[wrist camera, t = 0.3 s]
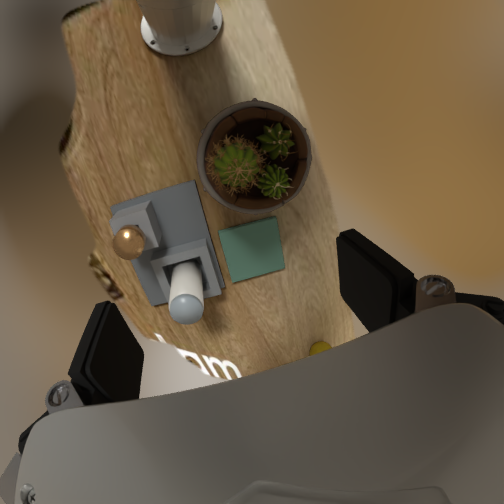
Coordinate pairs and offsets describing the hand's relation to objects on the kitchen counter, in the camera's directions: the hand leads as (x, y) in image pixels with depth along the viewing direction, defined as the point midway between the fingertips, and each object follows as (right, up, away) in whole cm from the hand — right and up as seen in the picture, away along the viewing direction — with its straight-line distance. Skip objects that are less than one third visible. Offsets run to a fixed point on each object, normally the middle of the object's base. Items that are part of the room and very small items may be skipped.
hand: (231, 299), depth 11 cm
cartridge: (-10, -1, +37) cm, 38 cm away
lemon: (+16, -20, +53) cm, 59 cm away
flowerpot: (-1, +18, +31) cm, 36 cm away
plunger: (-17, +6, +29) cm, 34 cm away
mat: (+1, +2, +39) cm, 39 cm away
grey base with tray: (-13, +3, +36) cm, 38 cm away
